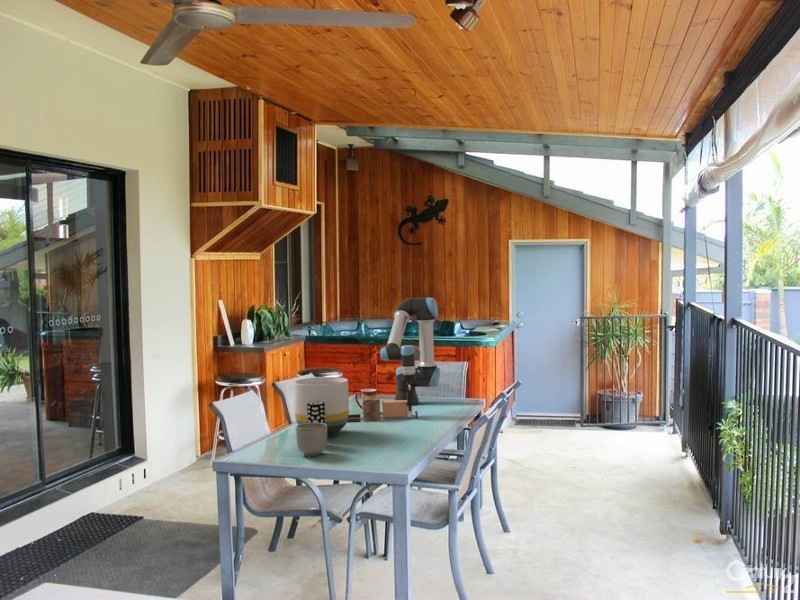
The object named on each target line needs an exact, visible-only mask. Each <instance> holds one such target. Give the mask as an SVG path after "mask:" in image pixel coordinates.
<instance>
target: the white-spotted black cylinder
mask: <svg viewBox="0 0 800 600" xmlns="http://www.w3.org/2000/svg"><path fill="white" fill-rule="evenodd" d="M307 420H308V423H325V424H326V419H325V402H309V403H307Z"/></svg>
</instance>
